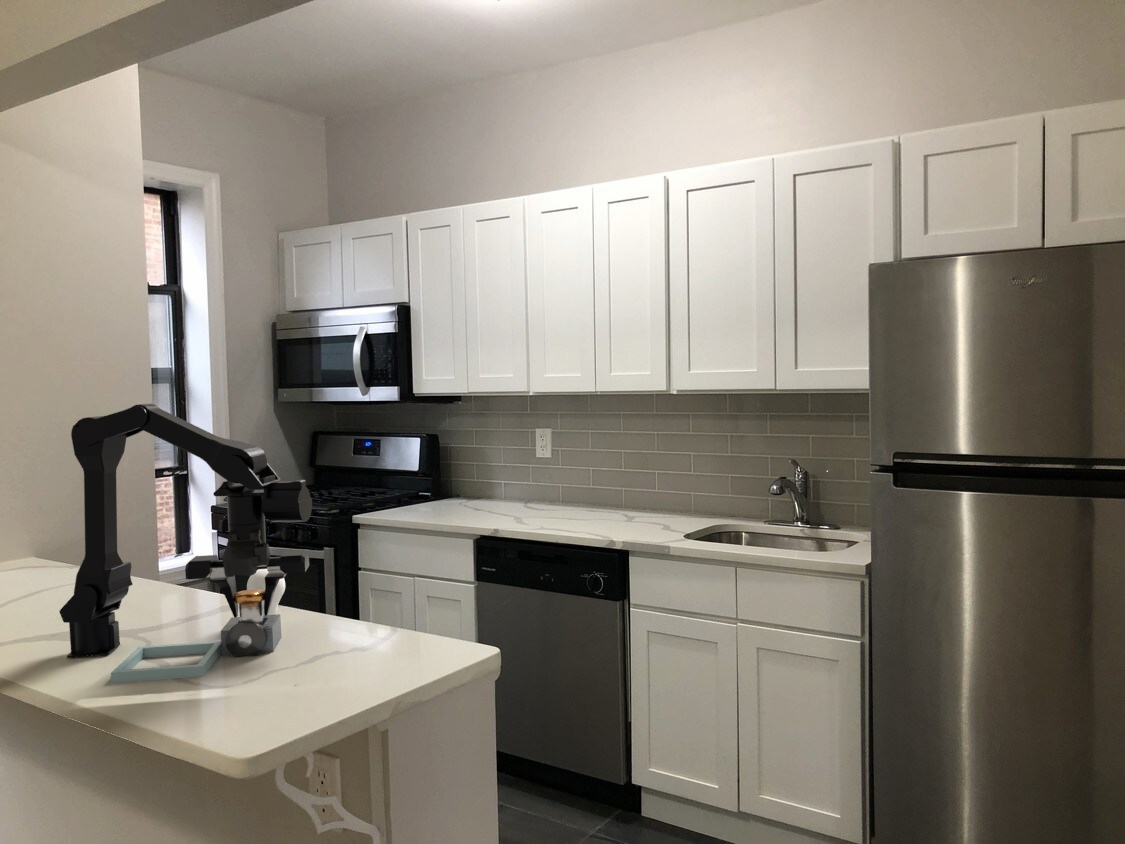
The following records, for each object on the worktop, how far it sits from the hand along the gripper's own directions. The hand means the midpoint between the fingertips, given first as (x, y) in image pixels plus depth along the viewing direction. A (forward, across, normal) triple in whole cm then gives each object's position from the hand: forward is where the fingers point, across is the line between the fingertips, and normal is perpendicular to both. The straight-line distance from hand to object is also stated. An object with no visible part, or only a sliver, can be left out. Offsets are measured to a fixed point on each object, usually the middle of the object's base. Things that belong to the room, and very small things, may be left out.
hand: (251, 615), depth 150 cm
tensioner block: (+6, 0, 0) cm, 6 cm away
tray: (+6, -11, -8) cm, 15 cm away
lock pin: (+4, 0, 0) cm, 4 cm away
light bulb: (+6, 0, +14) cm, 16 cm away
